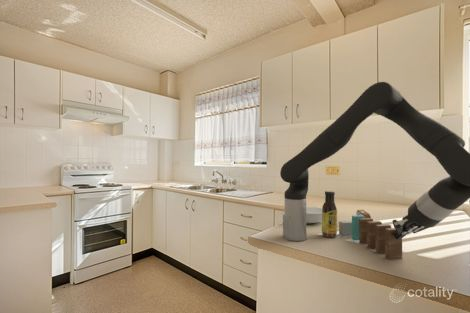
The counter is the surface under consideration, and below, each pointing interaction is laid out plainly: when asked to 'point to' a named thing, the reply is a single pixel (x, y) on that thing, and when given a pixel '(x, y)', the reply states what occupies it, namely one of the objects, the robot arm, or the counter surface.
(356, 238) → the domino
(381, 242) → the domino
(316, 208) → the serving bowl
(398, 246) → the domino
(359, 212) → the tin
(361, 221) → the domino
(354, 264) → the counter surface
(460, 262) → the counter surface
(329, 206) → the sauce bottle
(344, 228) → the block
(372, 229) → the domino
